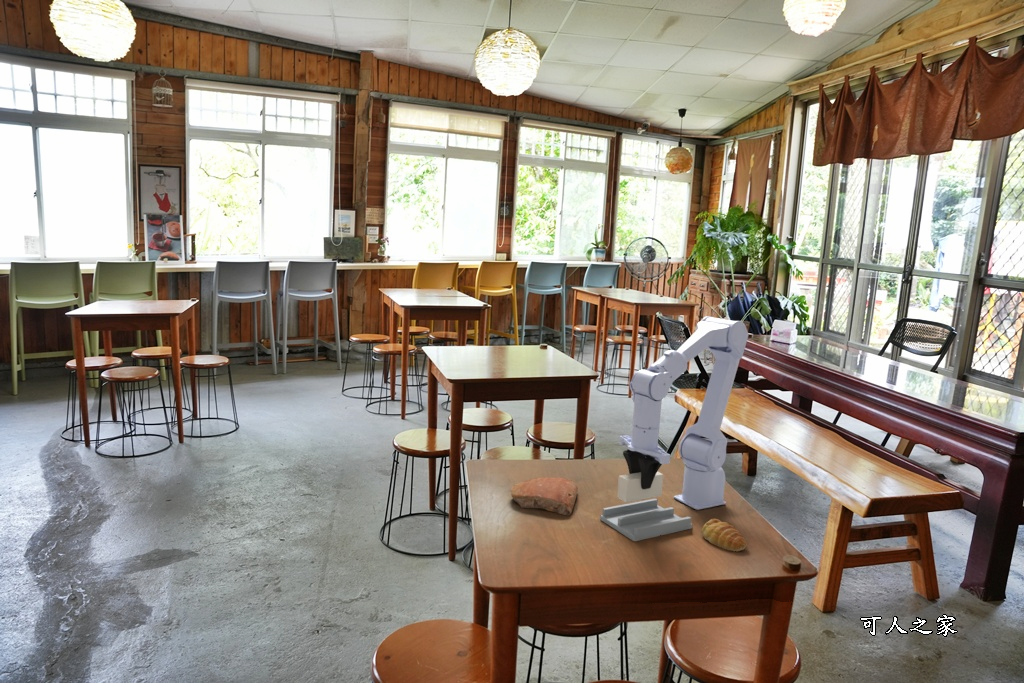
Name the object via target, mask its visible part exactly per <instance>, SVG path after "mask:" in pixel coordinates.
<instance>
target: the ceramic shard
mask: <svg viewBox="0 0 1024 683" xmlns="http://www.w3.org/2000/svg"><path fill="white" fill-rule="evenodd" d="M578 490H579V487H578V485H577V483H575V482H574V481H572V480H570V479H567V478H564V477H537V478H531V479H529V480H524V481H521V482H519V483H516V484H513V485H512V486H511V489H510V492H511V493H510V494H511V498H512V500H513V501H514V502H515V504H518V505H519V506H520V508H522V509H543V510H546V511H548V512H553V513H557V514H559V515H564V516H570V515H571V514H572V511H573V509H574V506H575V502H576V500H577V499H576V498H577V495H578Z"/></svg>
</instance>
